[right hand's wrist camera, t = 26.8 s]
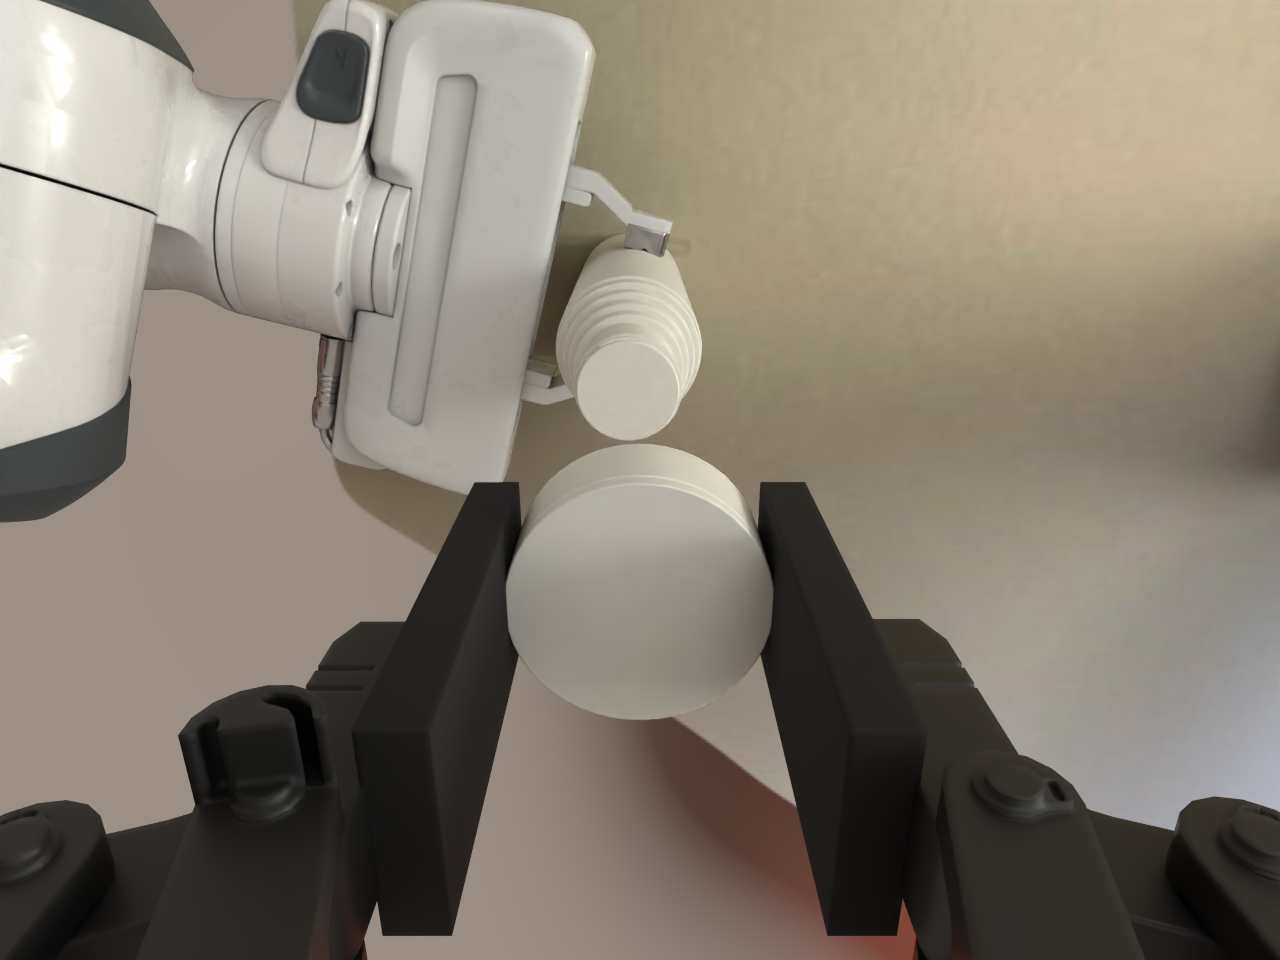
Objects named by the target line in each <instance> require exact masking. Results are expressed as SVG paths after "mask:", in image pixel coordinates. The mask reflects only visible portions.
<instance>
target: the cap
mask: <svg viewBox="0 0 1280 960" xmlns="http://www.w3.org/2000/svg"><path fill="white" fill-rule="evenodd" d="M773 590H774V585H773V580H772V575H771V571H770V568H769V565H768V561H767V558H766V555H765V552H764V548H763V545H762V542H761V539H760V535H759V532H758V529H757V526H756V523H755V520H754V518H753V515H752V512H751V510H750V508H749V506H748V504H747V503H746V501H745V499H744V497H743V496H742V495H741V493H740V492H739V491H738V489H737V488H736V487H735V485H734V484H733V483H732V482H731V481H730V480H729V479H728V478H727V477H726V476H725V475H724V474H722V473H721V472H720V471H718V470H717V469H716V468H715V467H713V466H712V465H710V464H709V463H707V462H705V461H703V460H702V459H700V458H698V457H696V456H694V455H691V454H689V453H687V452H684V451H681V450H678V449H674V448H670V447H667V446H660V445H653V444H627V445H618V446H613V447H609V448H604V449H600V450H598V451H595V452H592V453H590V454H587V455H585V456H583V457H581V458H579V459H577V460H575V461H573V462H571V463H570V464H569V465H567V466H566V467H564V468H563V469H562V470H560V471H559V472H558V473H556V474H555V475H554V476H553V477H552V478H551V479H550V480H549V481H548V482H547V483H546V484H545V485H544V487H543V488H542V489H541V490H540V492H539V493H538V494H537V496H536V497H535V499H534V501H533V502H532V504H531V506H530V507H529V510H528V512H527V515H526V517H525V519H524V522H523V525H522V529H521V532H520V535H519V538H518V541H517V545H516V548H515V551H514V554H513V557H512V561H511V564H510V567H509V571H508V575H507V579H506V600H507V615H508V629H509V634H510V637H511V640H512V643H513V645H514V647H515V649H516V650H517V652H518V654H519V656H520V658H521V659H522V661H523V662H524V664H525V665H526V666H527V668H528V669H529V671H530V672H531V673H532V674H533V675H534V676H535V677H536V678H537V679H538V680H539V681H540V682H541V683H542V684H543V685H544V686H545V687H547V688H548V689H549V690H550V691H551V692H553V693H554V694H556V695H557V696H559V697H560V698H562V699H564V700H565V701H567V702H569V703H571V704H573V705H575V706H577V707H579V708H581V709H584V710H587V711H590V712H592V713H595V714H599V715H603V716H607V717H612V718H619V719H627V720H650V719H661V718H666V717H671V716H676V715H680V714H683V713H686V712H689V711H692V710H695V709H697V708H699V707H702V706H704V705H706V704H708V703H710V702H712V701H713V700H715V699H717V698H718V697H720V696H722V695H723V694H725V693H726V692H727V691H728V690H730V689H731V688H732V687H734V686H735V685H736V684H737V683H738V682H739V681H740V680H741V679H742V678H743V677H744V676H745V675H746V674H747V673H748V671H749V670H750V669H751V667H752V666H753V665H754V663H755V662H756V661H757V659H758V657H759V655H760V654H761V652H762V650H763V648H764V646H765V644H766V641H767V639H768V636H769V634H770V630H771V621H772V607H773Z"/></svg>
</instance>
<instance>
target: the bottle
mask: <svg viewBox="0 0 1280 960" xmlns="http://www.w3.org/2000/svg"><path fill="white" fill-rule="evenodd" d="M625 237H626V233H624V234H619V235H615V236H612V237H610V238H608V239H606V240H604V241H603V242H601V243H600V244H599V245H598V246H597V247H596V248H594V250H593V251H592V252H591V253H590V255H589V256H588V258H587V260H586V262H585V264H584V267H583V269H582V271H581V274H580V276H579V278H578V281H577V283H576V286H575V288H574V290H573V293H572V295H571V298H570V300H569V302H568V305H567V307H566V310H565V312H564V314H563V317H562V319H561V321H560V324H559V328H558V331H557V337H556V357H557V362H558V366H559V370H560V373H561V375H562V378H563V380H564V383H565V384H566V386H567V388H568V390H569V391H570V392H571V394H572V395H573V396H574V398H575V399H576V403H577V405H578V407H579V409H580V411H581V414H582V416H583V417H584V418H585V419H586V421H587V422H588V423H589V424H590V425H591V426H592V427H593V428H594V429H595V430H597V431H598V432H600V433H601V434H603V435H605V436H607V437H610V438H613V439H617V440H624V441H632V440H639V439H643V438H646V437H649V436H651V435H653V434H656V433H657V432H658V431H660V430H661V429H662V428H664V427H665V426H667V424H668V423H669V422H670V421H671V419H672V418H673V417H674V415H675V414H676V412H677V409H678V407H679V405H680V403H681V399H682V398H683V397H684V396H685V395H686V393H687V392H688V390H689V389H690V387H691V385H692V383H693V381H694V379H695V377H696V374H697V371H698V369H699V365H700V360H701V352H702V343H701V335H700V329H699V326H698V323H697V320H696V318H695V315H694V312H693V309H692V307H691V304H690V301H689V298H688V295H687V293H686V290H685V287H684V284H683V282H682V279H681V276H680V273H679V271H678V268H677V265H676V263H675V261H674V259H673V257H672V256H671V254H670V253H669V251H668V250H667V249H666V250H665V253H664V256H657V255H653V254H651V253H648V251H647V250H646V249H642V250H634V249H631V248H627V247H624V241H625Z"/></svg>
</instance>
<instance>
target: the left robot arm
mask: <svg viewBox="0 0 1280 960" xmlns="http://www.w3.org/2000/svg"><path fill="white" fill-rule="evenodd" d="M595 57H596V56H595V50H594V47H593V44H592V42H591V40H590V38H589V37H588V35H587V34H586V32H585V31H584V29H583V28H582V27H581V25H580V24H578V23H577V22H576V21H574V20H572V19H569V18H566V17H563V16H559V15H556V14H552V13H549V12H544V11H540V10H535V9H531V8H526V7H520V6H515V5H509V4H503V3H496V2H489V1H480V0H424V1H421V2H418V3H416V4H414V5H412V6H410V7H409V8H407V9H406V10H405V11H404V12H402V13H401V14H400V15H398V14H397V13H395V12H394V11H392V10H390V9H388V8H386V7H384V6H382V5H379V4H377V3H374V2H371V1H368V0H329V1H328V2H327V3H326V4H325V5H324V7H323V8H322V10H321V12H320V14H319V16H318V18H317V20H316V23H315V25H314V27H313V30H312V32H311V35H310V37H309V39H308V42H307V44H306V47H305V49H304V51H303V54H302V56H301V58H300V61H299V63H298V65H297V68H296V70H295V72H294V75H293V77H292V79H291V81H290V83H289V86H288V88H287V90H286V92H285V94H284V97H283V99H282V101H281V102H279V101H275V100H271V99H237V98H227V97H222V96H218V95H214V94H211V93H208V92H206V91H203V90H200V89H199V88H197V87H196V85H195V84H194V81H193V77H192V73H193V72H194V69H193V67H192V65H191V63H190V61H189V59H188V58H187V56H186V54H185V53H184V51H183V49H182V48H181V46H180V45H179V43H178V42H177V40H176V39H175V37H174V36H173V34H172V33H171V32H170V30H169V29H168V28H167V26H166V25H165V23H164V22H163V20H162V19H161V18H160V16H159V15H158V13H157V12H156V10H155V9H154V7H153V6H152V5H151V3H150V2H149V0H0V523H7V522H18V521H30V520H37V519H42V518H45V517H47V516H49V515H51V514H53V513H55V512H57V511H59V510H61V509H63V508H65V507H66V506H68V505H70V504H71V503H73V502H75V501H76V500H78V499H79V498H81V497H82V496H84V495H85V494H87V493H88V492H89V491H91V490H92V489H93V488H95V487H96V486H97V485H99V484H100V483H102V482H103V481H104V480H105V479H106V478H108V477H109V476H110V475H111V474H112V473H113V472H115V471H116V470H117V469H118V468H119V467H120V466H121V465H122V464H123V463H124V461H125V457H126V446H127V434H128V421H129V408H130V396H131V380H130V376H129V373H130V368H131V362H132V356H133V350H134V344H135V338H136V332H137V326H138V320H139V314H140V308H141V302H142V296H143V290H144V289H146V290H159V289H177V290H184V291H188V292H192V293H195V294H198V295H200V296H203V297H205V298H207V299H209V300H210V301H212V302H214V303H216V304H217V305H219V306H221V307H223V308H225V309H227V310H230V311H233V312H236V313H239V314H243V315H247V316H251V317H255V318H259V319H263V320H267V321H272V322H275V323H280V324H284V325H288V326H292V327H296V328H301V329H305V330H308V331H312V332H317V333H321V338H320V343H319V355H318V365H317V377H318V379H317V383H318V384H317V393H316V397H315V398H314V401H313V406H312V421H313V425H314V426H315V427H317V428H319V430H320V435H321V438H322V440H323V443H324V444H325V446H326V447H327V448H328V450H329V451H330V452H331V453H332V455H333V456H334V457H335V458H337V459H338V460H340V461H342V462H345V463H348V464H352V465H357V466H361V467H365V468H370V469H375V470H387V469H390V470H392V471H395V472H397V473H400V474H402V475H405V476H407V477H410V478H412V479H415V480H418V481H421V482H424V483H426V484H429V485H432V486H435V487H438V488H442V489H445V490H448V491H451V492H455V493H458V494H462V495H466V496H468V494H469V492H470V490H471V488H472V486H473V484H474V482H503V481H504V479H505V476H506V474H507V471H508V467H509V464H510V460H511V455H512V451H513V446H514V441H515V436H516V432H517V427H518V422H519V418H520V413H521V408H522V403H523V400H525V401H529V402H533V403H537V404H542V405H549V404H552V403H556V402H559V401H563V400H566V399H570V398H573V397H574V396H573V395H572V394H571V392H570V391H569V390H568V388H567V386H566V384H565V383H564V380H563V378H562V375H560V376H556V377H553V375H554V371H555V366H554V364H550V363H546V362H543V361H539V360H535V359H532V356H533V351H534V347H535V342H536V337H537V333H538V328H539V323H540V318H541V314H542V309H543V304H544V300H545V295H546V290H547V285H548V281H549V276H550V271H551V266H552V262H553V257H554V252H555V248H556V243H557V238H558V233H559V229H560V224H561V219H562V214H563V210H564V205H565V202H568V203H572V204H576V205H580V206H584V207H588V206H589V205H590V204H591V203H592V200H593V196H594V195H595V196H596V197H597V198H598V199H599V200H600V201H601V202H602V203H603V204H604V205H605V206H606V207H607V208H608V209H609V210H611V211H612V212H613V213H614V214H615V215H616V216H617V217H618V218H619V219H620V220H621V221H622V222H623V223H624V224H625V225H626V226H628V228H627V232H626V237H625V241H624V247H627V248H631V249H634V250H642V249H646V250H647V251H648V253H651V254H653V255H657V256H664V253H665V250H666V246H667V243H668V239H669V236H670V231H671V228H672V224H673V221H672V220H670V219H668V218H665V217H661V216H658V215H654V214H650V213H646V212H643V211H639V210H635V209H632V205H631V204H630V203H629V202H628V201H627V200H626V199H625V198H624V197H623V196H622V195H621V194H620V193H619V192H618V191H617V190H616V189H615V188H614V187H613V185H612V184H611V183H610V182H609V181H608V180H607V179H606V178H605V177H604V176H603V175H602V174H601V173H600V172H597V171H594V170H590V169H586V168H582V167H579V166H575V165H573V163H574V158H575V153H576V148H577V144H578V139H579V134H580V129H581V125H582V120H583V115H584V111H585V106H586V101H587V96H588V92H589V87H590V82H591V77H592V73H593V68H594V63H595ZM333 428H334V433H333V440H332V438H331V436H330V433H329V429H333Z"/></svg>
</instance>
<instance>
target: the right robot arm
mask: <svg viewBox="0 0 1280 960" xmlns="http://www.w3.org/2000/svg"><path fill="white" fill-rule="evenodd" d="M521 529H522V528H521V510H520V493H519V482H474V484H473V486H472V488H471V490H470V492H469V494H468V496H467V498H466V500H465V502H464V504H463V506H462V508H461V510H460V512H459V514H458V516H457V518H456V520H455V523H454V525H453V527H452V529H451V531H450V533H449V535H448V537H447V539H446V541H445V543H444V545H443V547H442V549H441V551H440V553H439V555H438V557H437V559H436V561H435V563H434V565H433V567H432V569H431V571H430V573H429V575H428V577H427V579H426V581H425V583H424V585H423V587H422V589H421V591H420V593H419V595H418V597H417V599H416V601H415V603H414V605H413V608H412V609H411V612H410V614H409V616H408V618H407V620H406V622H360V623H358V624H357V625H356V626H354V627H353V628H352V629H350V630H349V631H348V632H346V633H345V634H343V635H342V636H341V637H339V638H338V639H337V640H335V641H334V642H333V643H332V645H331V646H330V648H329V650H328V651H327V653H326V654H325V656H324V658H323V659H322V661H321V663H320V664H319V666H318V671H315V672H314V674H313V676H312V677H311V679H310V680H309V682H308V683H307V685H306V689H304V688H300V687H297V686H293V685H267V686H262V687H258V688H253V689H249V690H244V691H240V692H237V693H235V694H232V695H230V696H228V697H226V698H223V699H221V700H218V701H216V702H214V703H212V704H211V705H209V706H208V707H206V708H205V709H204V710H202V711H201V712H199V713H198V714H196V715H195V716H194V717H192V718H191V719H190V721H189V722H188V723H187V724H186V726H185V727H184V728H183V730H182V731H181V732H180V734H179V735H178V737H179V741H180V745H181V749H182V753H183V757H184V761H185V765H186V769H187V773H188V777H189V781H190V785H191V789H192V793H193V797H194V801H195V807H194V810H193V812H192V813H190V814H187V815H183V816H180V817H177V818H173V819H170V820H167V821H162V822H158V823H154V824H150V825H145V826H140V827H136V828H132V829H127V830H123V831H119V832H114V833H110V834H106V833H105V829H104V826H103V823H102V819H101V816H100V815H99V814H98V813H97V812H96V811H95V810H93V809H92V808H91V807H90V806H89V805H88V804H83V803H78V802H72V801H67V800H64V801H55V802H46V803H37V804H34V805H31V806H28V807H25V808H22V809H18V810H15V811H12V812H9V813H6V814H4V815H2V816H0V960H367V953H366V948H365V941H364V937H365V934H366V931H367V928H368V925H369V923H370V920H371V917H372V914H373V911H374V908H375V905H376V902H378V909H379V915H380V921H381V928H382V934H383V936H452V933H453V929H454V925H455V921H456V917H457V912H458V908H459V904H460V900H461V896H462V891H463V887H464V883H465V879H466V874H467V870H468V866H469V862H470V857H471V854H472V849H473V845H474V841H475V837H476V833H477V828H478V824H479V820H480V816H481V812H482V807H483V803H484V799H485V795H486V791H487V786H488V782H489V778H490V774H491V770H492V765H493V761H494V757H495V752H496V749H497V744H498V740H499V736H500V732H501V728H502V723H503V719H504V715H505V711H506V707H507V702H508V698H509V694H510V690H511V686H512V681H513V677H514V673H515V668H516V665H517V660H518V656H519V654H518V652H517V650H516V649H515V647H514V645H513V643H512V640H511V637H510V634H509V629H508V615H507V600H506V579H507V575H508V571H509V567H510V564H511V561H512V557H513V554H514V551H515V548H516V545H517V541H518V538H519V535H520V532H521ZM758 532H759V535H760V539H761V542H762V545H763V548H764V552H765V555H766V558H767V561H768V565H769V568H770V571H771V575H772V580H773V585H774V590H773V607H772V621H771V630H770V634H769V636H768V639H767V641H766V644H765V646H764V648H763V650H762V652H761V658H762V663H763V667H764V671H765V675H766V679H767V684H768V688H769V692H770V696H771V700H772V705H773V709H774V713H775V717H776V721H777V726H778V730H779V734H780V738H781V742H782V747H783V751H784V755H785V759H786V763H787V768H788V772H789V776H790V780H791V784H792V789H793V793H794V797H795V801H796V805H797V810H798V814H799V818H800V822H801V826H802V831H803V835H804V839H805V843H806V847H807V852H808V856H809V860H810V864H811V868H812V872H813V877H814V881H815V885H816V889H817V894H818V898H819V902H820V906H821V910H822V915H823V919H824V923H825V927H826V931H827V935H828V936H897V931H898V924H899V918H900V911H901V905H902V899H903V900H904V903H905V906H906V909H907V911H908V914H909V917H910V920H911V923H912V926H913V929H914V931H915V934H916V941H915V948H914V953H913V959H912V960H1280V812H1278V811H1276V810H1274V809H1271V808H1267V807H1265V806H1261V805H1258V804H1255V803H1252V802H1249V801H1245V800H1241V799H1231V798H1222V797H1210V798H1205V799H1200V800H1195V801H1192V802H1191V803H1189V804H1188V805H1187V806H1186V807H1185V808H1184V809H1183V810H1182V811H1181V812H1180V814H1179V817H1178V820H1177V824H1176V827H1175V830H1174V831H1172V830H1168V829H1164V828H1159V827H1155V826H1150V825H1146V824H1142V823H1137V822H1133V821H1128V820H1124V819H1120V818H1115V817H1111V816H1108V815H1105V814H1101V813H1098V812H1095V811H1091V810H1089V809H1087V808H1086V806H1085V803H1084V802H1083V800H1082V799H1081V797H1080V796H1079V794H1078V793H1077V791H1076V790H1075V788H1074V787H1073V785H1072V784H1070V783H1069V782H1068V781H1067V780H1065V779H1064V778H1063V777H1062V776H1060V775H1059V774H1058V773H1057V772H1055V771H1054V770H1053V769H1052V768H1050V767H1047V766H1045V765H1043V764H1041V763H1039V762H1037V761H1035V760H1033V759H1031V758H1029V757H1027V756H1023V755H1019V754H1018V753H1017V751H1016V750H1015V748H1014V746H1013V745H1012V743H1011V742H1010V740H1009V738H1008V737H1007V735H1006V734H1005V732H1004V730H1003V729H1002V727H1001V726H1000V724H999V722H998V721H997V719H996V718H995V716H994V714H993V713H992V711H991V710H990V708H989V706H988V705H987V703H986V702H985V700H984V698H983V697H982V695H981V694H980V692H979V690H978V689H977V688H974V682H973V681H972V679H971V678H970V676H969V674H968V673H967V671H966V670H965V668H962V666H961V664H962V663H961V662H960V660H959V658H958V657H957V655H956V654H955V652H954V650H953V649H952V647H951V646H950V644H949V642H948V641H947V639H945V638H944V637H943V636H941V635H940V634H939V633H937V632H936V631H935V630H933V629H932V628H930V627H929V626H928V625H926V624H925V623H924V622H922V621H921V620H920V619H872V617H871V615H870V613H869V611H868V609H867V607H866V605H865V603H864V601H863V599H862V597H861V594H860V592H859V590H858V588H857V586H856V584H855V582H854V580H853V578H852V576H851V574H850V572H849V570H848V568H847V566H846V564H845V562H844V560H843V558H842V556H841V554H840V552H839V550H838V548H837V546H836V544H835V542H834V540H833V538H832V536H831V534H830V532H829V530H828V528H827V526H826V524H825V522H824V520H823V518H822V516H821V514H820V512H819V509H818V507H817V505H816V503H815V501H814V499H813V497H812V495H811V493H810V491H809V489H808V487H807V485H806V483H805V482H761V483H760V501H759V518H758Z"/></svg>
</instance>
